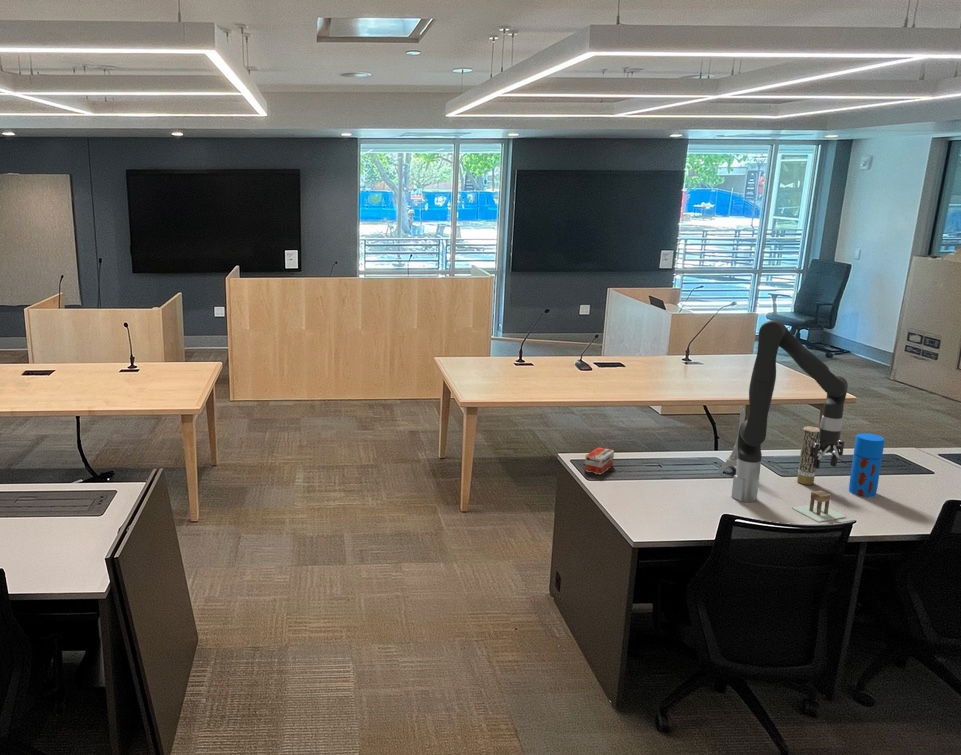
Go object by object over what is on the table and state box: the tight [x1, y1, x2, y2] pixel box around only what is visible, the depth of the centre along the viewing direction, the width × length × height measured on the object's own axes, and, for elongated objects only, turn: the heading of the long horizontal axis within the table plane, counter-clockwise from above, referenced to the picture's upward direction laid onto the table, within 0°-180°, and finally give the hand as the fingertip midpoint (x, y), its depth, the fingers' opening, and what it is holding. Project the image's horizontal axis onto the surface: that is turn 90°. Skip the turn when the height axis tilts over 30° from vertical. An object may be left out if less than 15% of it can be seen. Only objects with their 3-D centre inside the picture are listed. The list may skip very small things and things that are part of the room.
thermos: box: [848, 432, 885, 498], centre depth 322 cm, size 11×11×25 cm
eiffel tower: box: [716, 408, 747, 474], centre depth 344 cm, size 13×13×30 cm
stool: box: [809, 490, 831, 515], centre depth 302 cm, size 5×5×8 cm
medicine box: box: [584, 446, 615, 473], centre depth 346 cm, size 15×8×8 cm, turn 148°
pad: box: [791, 503, 847, 523], centre depth 303 cm, size 14×14×1 cm
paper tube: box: [797, 425, 820, 486], centre depth 332 cm, size 7×7×25 cm
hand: (824, 466), depth 298 cm, fingers open, 8 cm apart
